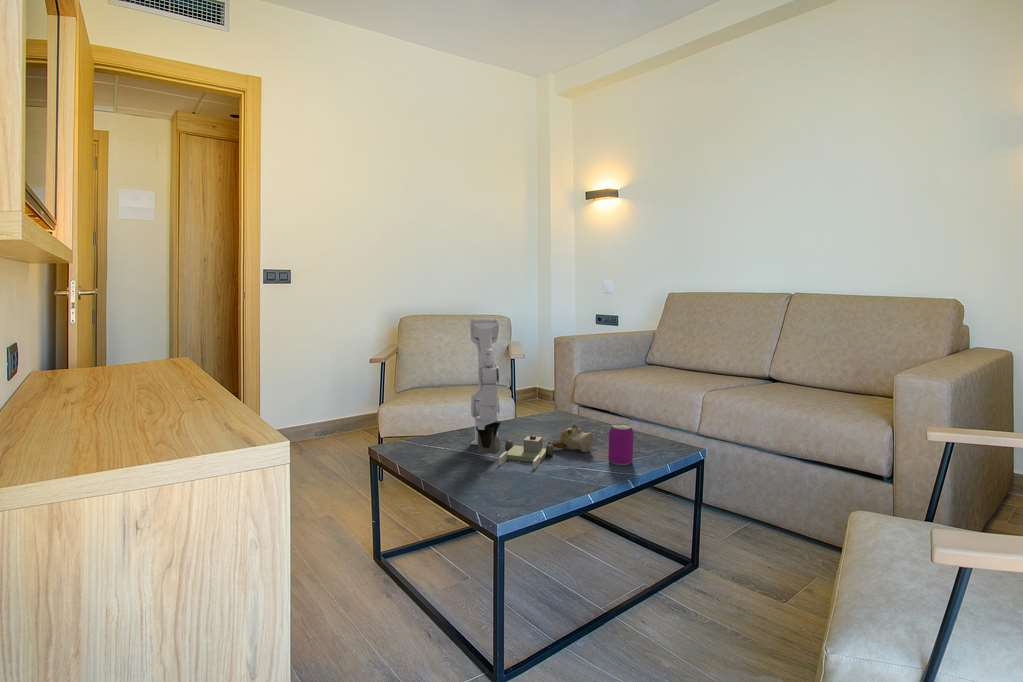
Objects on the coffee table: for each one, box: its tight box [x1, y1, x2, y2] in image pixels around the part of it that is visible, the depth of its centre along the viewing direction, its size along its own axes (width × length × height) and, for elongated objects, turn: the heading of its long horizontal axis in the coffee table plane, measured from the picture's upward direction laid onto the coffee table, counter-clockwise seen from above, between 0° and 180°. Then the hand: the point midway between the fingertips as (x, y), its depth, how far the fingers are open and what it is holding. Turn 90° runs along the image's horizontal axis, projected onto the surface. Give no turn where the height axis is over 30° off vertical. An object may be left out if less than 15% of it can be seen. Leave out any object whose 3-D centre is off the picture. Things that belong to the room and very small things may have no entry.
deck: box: [498, 434, 555, 470], centre depth 184 cm, size 16×16×6 cm
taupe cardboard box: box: [477, 430, 501, 455], centre depth 184 cm, size 4×6×6 cm, turn 72°
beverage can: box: [607, 422, 635, 466], centre depth 181 cm, size 8×8×12 cm
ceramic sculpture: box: [547, 425, 594, 453], centre depth 194 cm, size 11×9×15 cm
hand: (488, 445), depth 184 cm, fingers closed on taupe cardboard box, 4 cm apart
